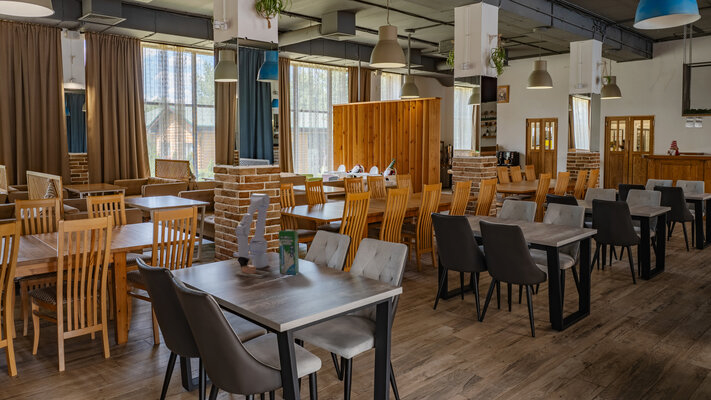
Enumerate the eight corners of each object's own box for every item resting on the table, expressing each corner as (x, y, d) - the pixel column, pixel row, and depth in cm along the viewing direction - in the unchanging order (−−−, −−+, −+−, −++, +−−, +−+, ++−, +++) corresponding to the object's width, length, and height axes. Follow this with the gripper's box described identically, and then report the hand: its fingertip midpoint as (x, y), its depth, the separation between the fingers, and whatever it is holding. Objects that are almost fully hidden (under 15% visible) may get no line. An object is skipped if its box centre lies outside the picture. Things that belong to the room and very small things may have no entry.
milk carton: (298, 271, 308) (297, 228, 305) (295, 275, 299) (294, 230, 296) (283, 271, 309) (282, 228, 306) (279, 274, 300) (278, 230, 297)
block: (249, 271, 303) (249, 264, 302) (255, 273, 300) (255, 265, 299) (241, 273, 298) (241, 266, 297) (247, 275, 295) (247, 268, 294)
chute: (250, 272, 306) (250, 268, 306) (272, 276, 295) (272, 272, 295) (235, 276, 297) (235, 272, 297) (258, 281, 287) (257, 276, 286)
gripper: (228, 246, 301) (229, 270, 302) (246, 249, 292) (247, 273, 293) (238, 244, 306) (239, 267, 308) (256, 247, 298) (256, 271, 299)
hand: (243, 270), depth 301 cm, fingers closed
